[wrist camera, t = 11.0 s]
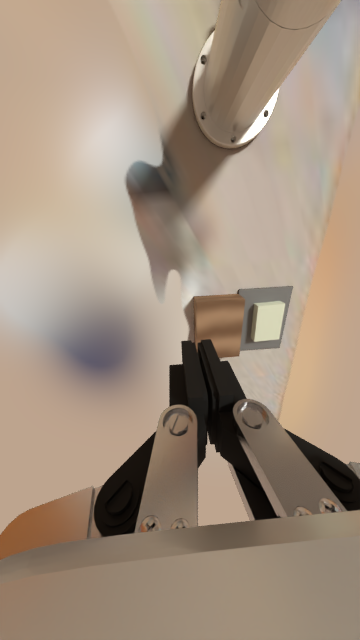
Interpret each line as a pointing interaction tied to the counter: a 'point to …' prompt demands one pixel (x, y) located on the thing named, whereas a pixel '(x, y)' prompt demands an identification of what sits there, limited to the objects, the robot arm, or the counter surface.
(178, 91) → the counter surface
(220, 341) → the brown flat block
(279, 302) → the pale yellow flat block
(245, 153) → the counter surface
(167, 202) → the counter surface
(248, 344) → the mat
